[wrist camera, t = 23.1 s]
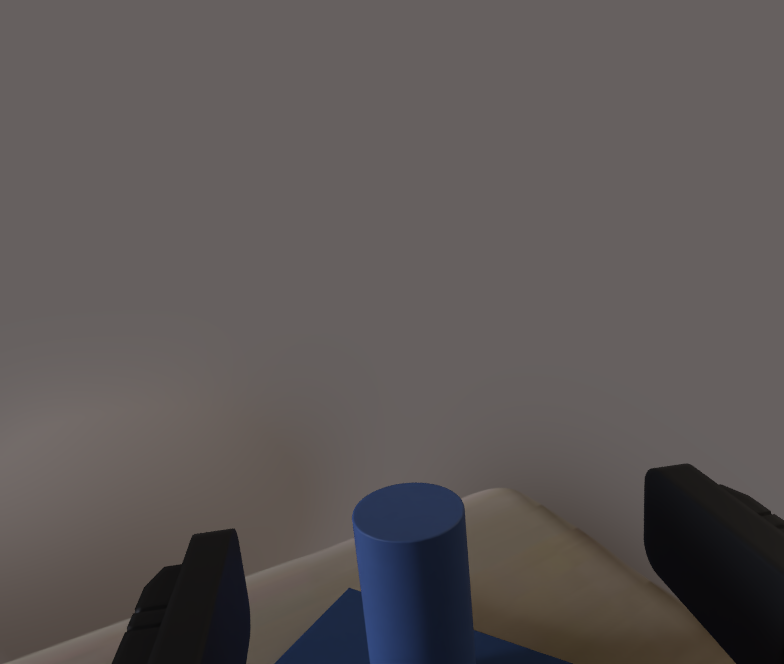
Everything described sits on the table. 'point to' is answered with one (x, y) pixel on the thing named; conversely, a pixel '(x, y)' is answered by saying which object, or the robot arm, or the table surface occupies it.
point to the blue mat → (350, 648)
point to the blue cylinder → (414, 575)
